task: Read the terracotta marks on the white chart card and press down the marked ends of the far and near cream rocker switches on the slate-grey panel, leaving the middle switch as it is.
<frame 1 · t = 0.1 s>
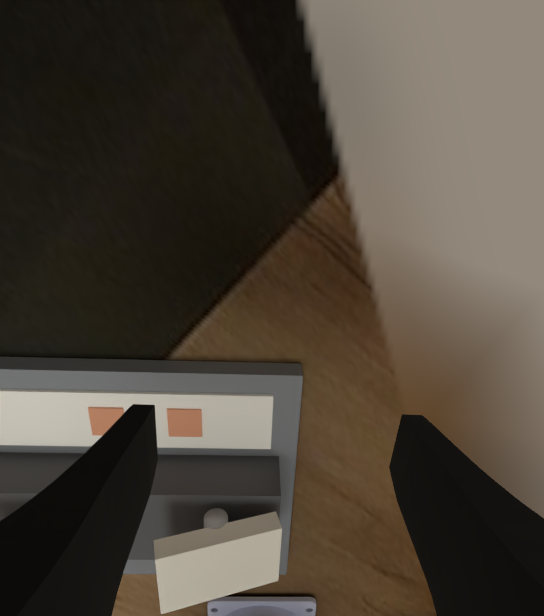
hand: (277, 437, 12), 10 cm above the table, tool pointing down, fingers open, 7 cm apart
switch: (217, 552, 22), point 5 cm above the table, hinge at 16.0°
switch panel: (89, 470, 26), on the table
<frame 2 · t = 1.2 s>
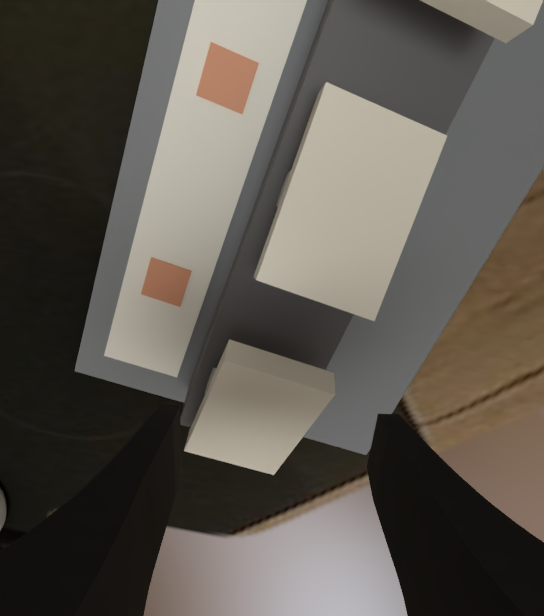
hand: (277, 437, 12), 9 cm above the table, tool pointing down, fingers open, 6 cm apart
switch panel: (322, 181, 19), on the table
switch middle: (342, 209, 14), point 5 cm above the table, hinge at 16.0°
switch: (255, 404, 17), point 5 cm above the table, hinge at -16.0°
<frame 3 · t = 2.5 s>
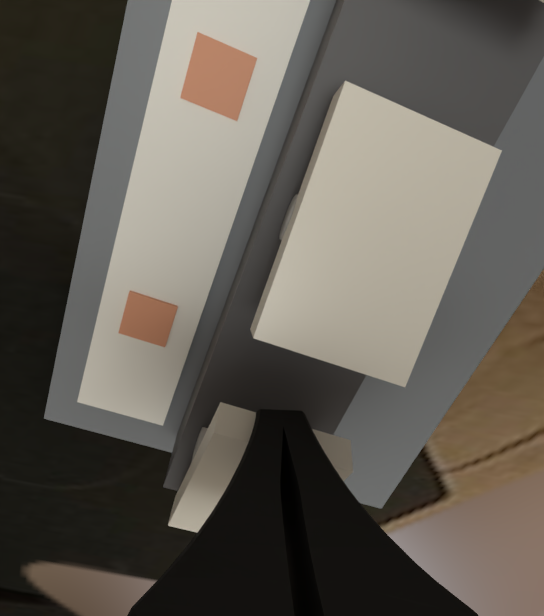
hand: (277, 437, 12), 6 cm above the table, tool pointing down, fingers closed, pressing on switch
switch panel: (333, 200, 16), on the table
switch middle: (363, 243, 11), point 5 cm above the table, hinge at 16.0°
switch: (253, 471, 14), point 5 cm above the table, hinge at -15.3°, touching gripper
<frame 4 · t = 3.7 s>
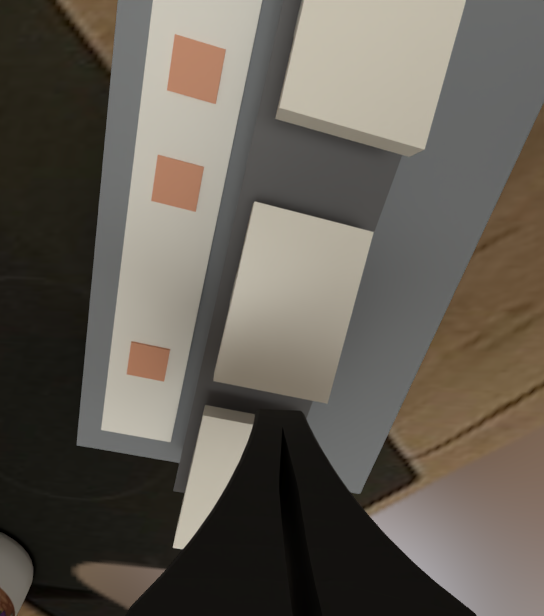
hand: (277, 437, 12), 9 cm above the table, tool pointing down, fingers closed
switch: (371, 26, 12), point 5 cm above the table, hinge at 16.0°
switch panel: (282, 254, 20), on the table
switch middle: (288, 302, 15), point 5 cm above the table, hinge at 16.0°
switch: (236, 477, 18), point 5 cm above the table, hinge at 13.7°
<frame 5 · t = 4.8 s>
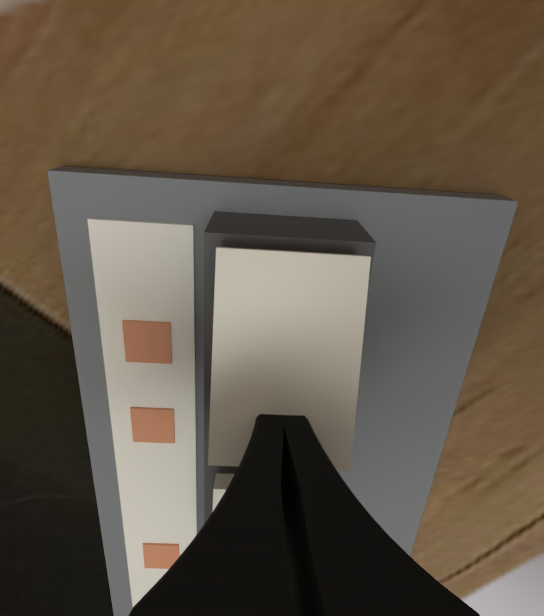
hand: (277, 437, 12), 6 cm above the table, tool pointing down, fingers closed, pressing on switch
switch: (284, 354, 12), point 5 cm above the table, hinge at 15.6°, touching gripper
switch panel: (266, 445, 21), on the table
switch middle: (266, 549, 16), point 5 cm above the table, hinge at 16.0°
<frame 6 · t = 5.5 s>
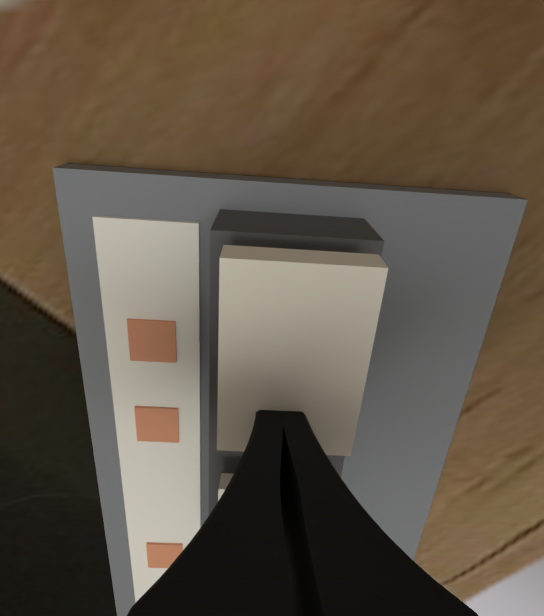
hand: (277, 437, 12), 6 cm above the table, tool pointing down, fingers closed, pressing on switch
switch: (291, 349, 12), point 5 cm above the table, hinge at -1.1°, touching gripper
switch panel: (270, 444, 21), on the table
switch middle: (271, 549, 16), point 5 cm above the table, hinge at 16.0°
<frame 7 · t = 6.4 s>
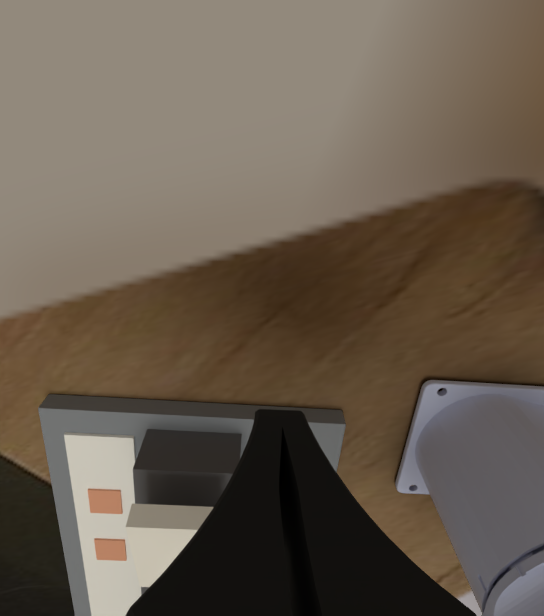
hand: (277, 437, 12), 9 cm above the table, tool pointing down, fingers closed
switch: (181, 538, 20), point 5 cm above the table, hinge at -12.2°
switch panel: (196, 554, 29), on the table
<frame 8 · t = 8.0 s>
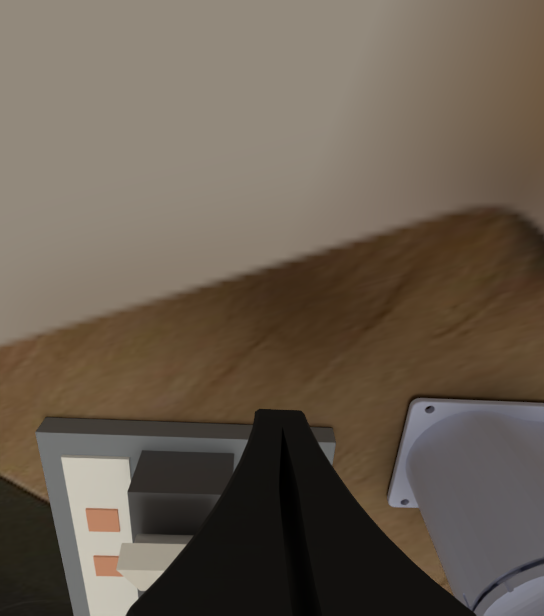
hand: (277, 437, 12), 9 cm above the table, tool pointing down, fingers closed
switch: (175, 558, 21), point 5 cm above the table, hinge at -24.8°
switch panel: (193, 568, 29), on the table
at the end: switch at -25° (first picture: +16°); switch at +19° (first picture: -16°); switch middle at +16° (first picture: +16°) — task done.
